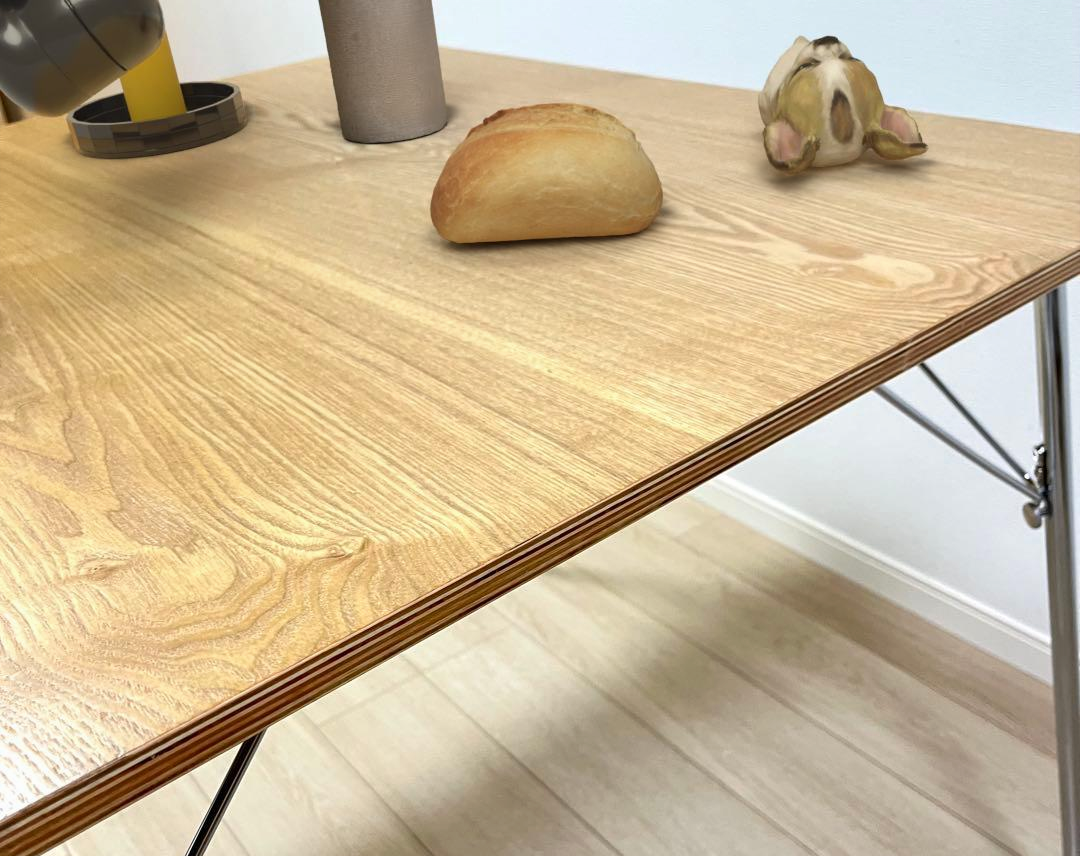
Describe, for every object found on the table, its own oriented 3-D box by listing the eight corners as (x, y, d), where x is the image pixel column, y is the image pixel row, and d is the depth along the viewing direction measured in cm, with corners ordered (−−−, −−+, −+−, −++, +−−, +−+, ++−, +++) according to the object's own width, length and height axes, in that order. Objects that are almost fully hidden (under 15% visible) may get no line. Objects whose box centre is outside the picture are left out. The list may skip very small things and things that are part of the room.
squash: (134, 139, 107) (97, 10, 101) (136, 127, 112) (101, 2, 106) (189, 130, 108) (156, 1, 102) (190, 118, 113) (158, -6, 106)
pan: (69, 168, 102) (58, 134, 101) (83, 128, 116) (74, 97, 114) (250, 139, 105) (242, 105, 103) (244, 103, 118) (237, 73, 117)
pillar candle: (321, 135, 104) (285, -49, 95) (407, 110, 109) (380, -67, 100) (384, 150, 97) (351, -46, 89) (472, 122, 102) (448, -66, 94)
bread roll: (438, 224, 79) (420, 104, 75) (653, 200, 79) (648, 79, 75) (433, 273, 71) (413, 142, 67) (673, 247, 71) (668, 114, 67)
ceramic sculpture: (872, 3, 84) (947, 55, 72) (863, 123, 89) (933, 190, 77) (728, 22, 84) (780, 77, 72) (728, 140, 89) (777, 210, 77)
